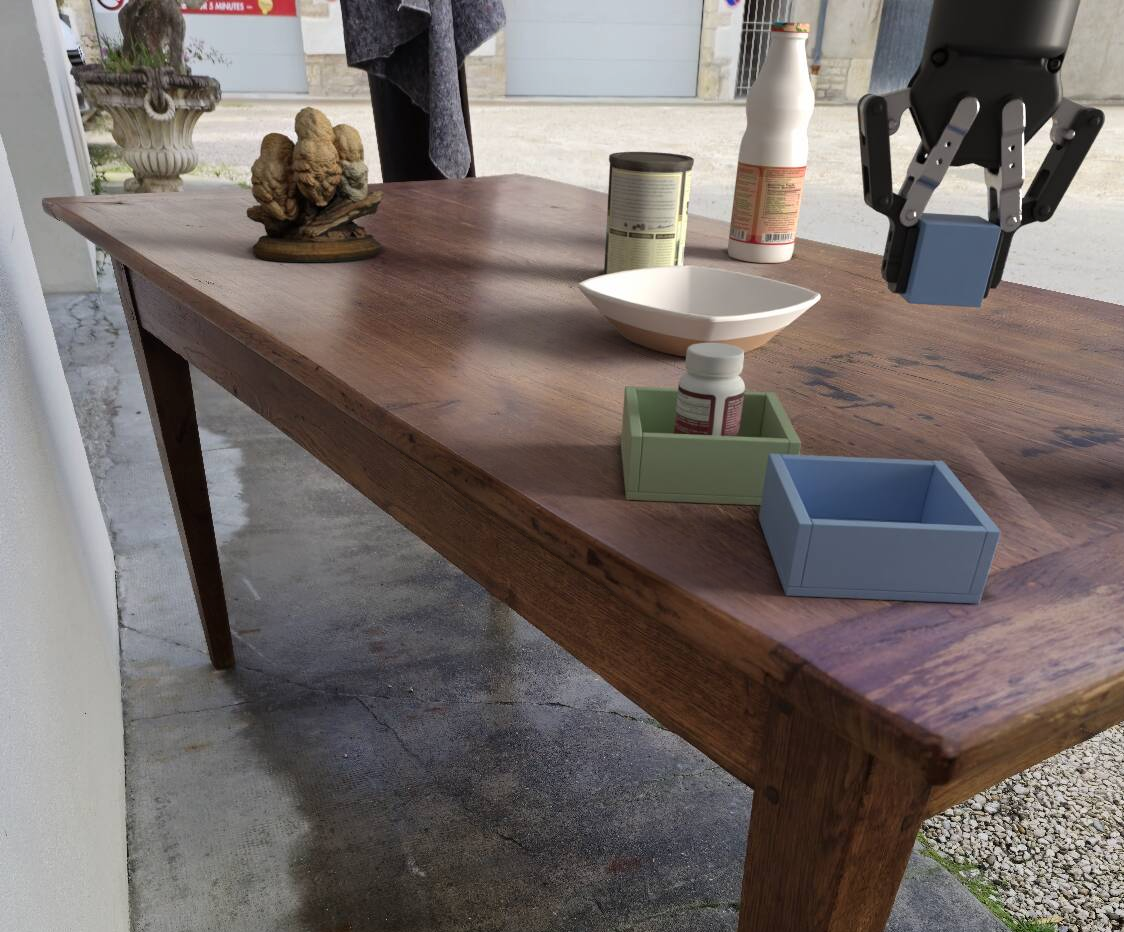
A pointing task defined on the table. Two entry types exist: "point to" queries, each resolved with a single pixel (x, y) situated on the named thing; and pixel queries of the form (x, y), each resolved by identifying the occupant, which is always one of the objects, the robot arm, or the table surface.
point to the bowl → (696, 306)
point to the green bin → (700, 450)
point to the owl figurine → (313, 194)
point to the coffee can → (646, 210)
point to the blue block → (952, 260)
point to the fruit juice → (773, 152)
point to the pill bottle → (711, 391)
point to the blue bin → (875, 529)
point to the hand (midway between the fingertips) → (936, 292)
